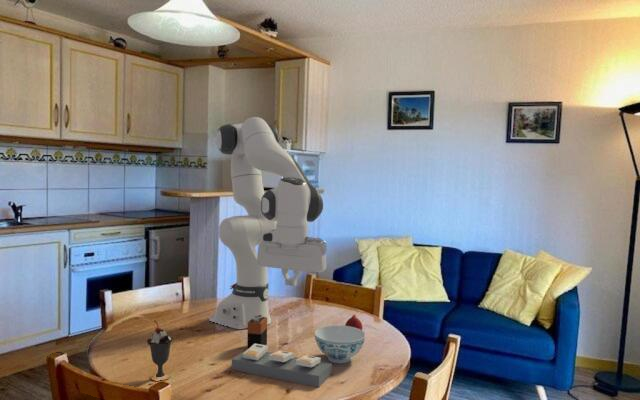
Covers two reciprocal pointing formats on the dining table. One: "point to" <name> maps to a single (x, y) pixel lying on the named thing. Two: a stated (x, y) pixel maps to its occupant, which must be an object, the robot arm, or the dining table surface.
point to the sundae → (160, 348)
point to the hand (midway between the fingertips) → (290, 284)
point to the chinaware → (339, 342)
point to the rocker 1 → (255, 351)
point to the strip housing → (284, 369)
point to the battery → (257, 331)
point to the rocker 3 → (308, 361)
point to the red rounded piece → (354, 322)
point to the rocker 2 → (281, 356)
